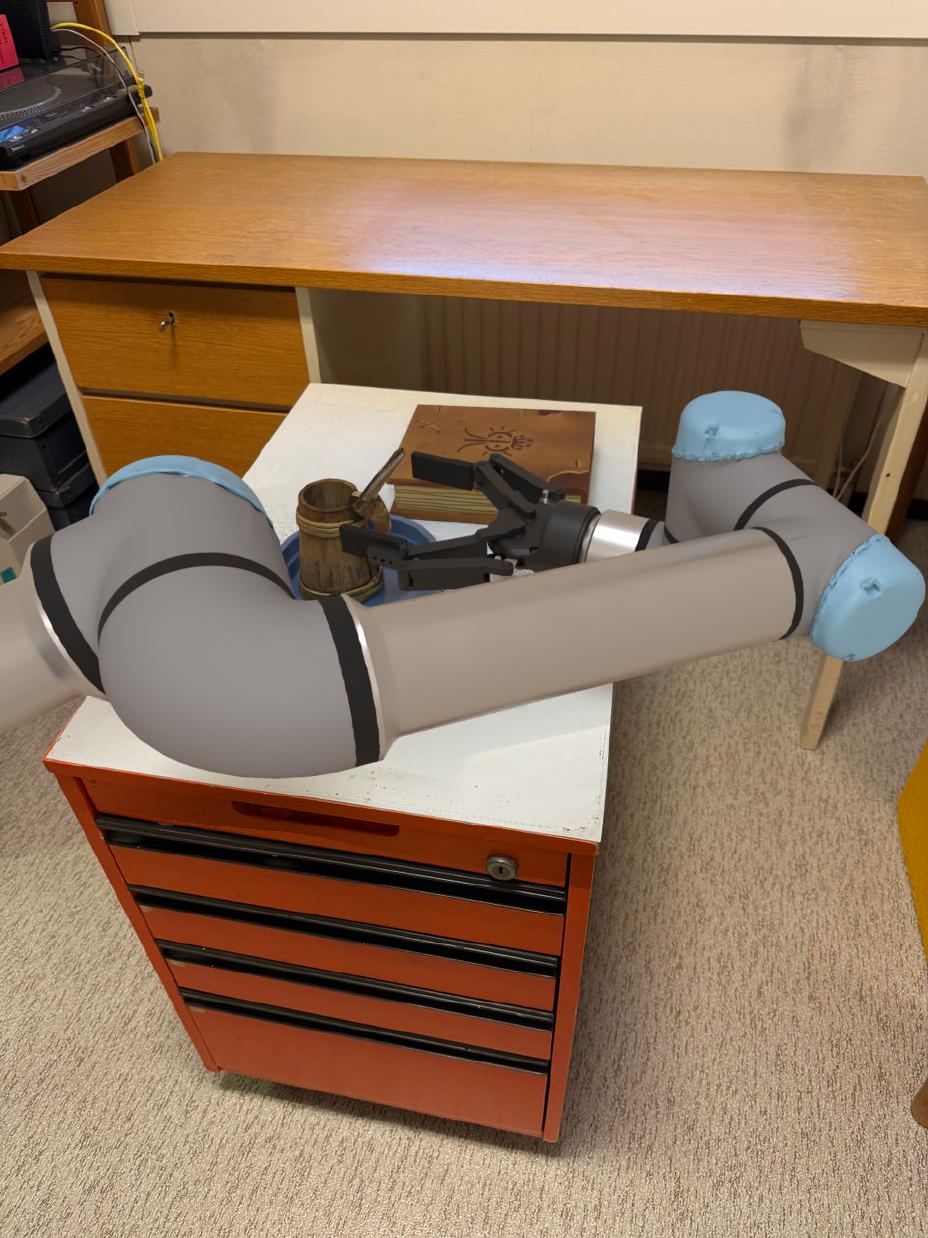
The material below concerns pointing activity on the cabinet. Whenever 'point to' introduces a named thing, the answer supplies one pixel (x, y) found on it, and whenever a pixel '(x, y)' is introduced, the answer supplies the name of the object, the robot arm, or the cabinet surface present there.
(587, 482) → the diary
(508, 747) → the cabinet surface
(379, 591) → the bowl
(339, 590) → the wooden mug
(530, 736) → the cabinet surface
